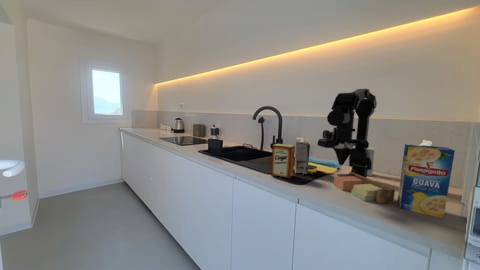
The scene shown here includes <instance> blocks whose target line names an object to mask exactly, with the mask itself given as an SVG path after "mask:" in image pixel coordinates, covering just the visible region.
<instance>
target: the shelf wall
mask: <svg viewBox="0 0 480 270" xmlns="http://www.w3.org/2000/svg"><path fill="white" fill-rule="evenodd" d="M348 174H354V177H356V178H358V179H360V180H362V181H363V184H372V185H374V186H377V187H379V188H382V189H377V198H376V201H375V203H376V204H390V203H391V204H392V203H394V198H395V192H396V191H395V188H392V187H390V186H387V185H385V184H383V183H379V182H378V181H375V180H374V179H373V180H372V179H370V178H368V177H367V178H365V177H363V176H360V175H358V174H355V173H353V172H351V171H349V172H348Z"/></svg>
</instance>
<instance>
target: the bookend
mask: <svg viewBox="0 0 480 270" xmlns="http://www.w3.org/2000/svg"><path fill="white" fill-rule="evenodd" d="M336 176H354V174H349V173H337V174H336ZM330 183H333V184H334V180H330Z"/></svg>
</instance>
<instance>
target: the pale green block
mask: <svg viewBox="0 0 480 270" xmlns="http://www.w3.org/2000/svg"><path fill="white" fill-rule="evenodd" d="M377 189H382V188H379V187H377V186H374V185H372V184H359V185H354V188H353V189H352V191H351V193H350V194H351V195H352V196H354V197H356V198H358V199H359V200H361V201H363V202H374V201H375V202H376V198H377Z"/></svg>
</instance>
